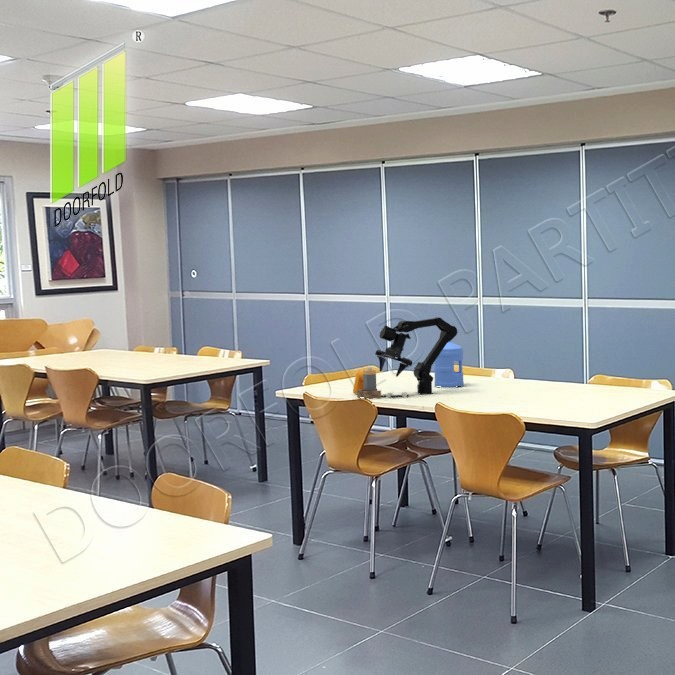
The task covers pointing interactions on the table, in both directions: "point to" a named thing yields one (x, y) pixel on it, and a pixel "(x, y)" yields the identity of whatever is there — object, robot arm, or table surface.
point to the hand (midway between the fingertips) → (388, 374)
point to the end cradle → (368, 394)
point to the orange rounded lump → (358, 382)
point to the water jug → (449, 366)
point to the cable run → (393, 395)
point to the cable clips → (391, 394)
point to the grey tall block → (369, 379)
